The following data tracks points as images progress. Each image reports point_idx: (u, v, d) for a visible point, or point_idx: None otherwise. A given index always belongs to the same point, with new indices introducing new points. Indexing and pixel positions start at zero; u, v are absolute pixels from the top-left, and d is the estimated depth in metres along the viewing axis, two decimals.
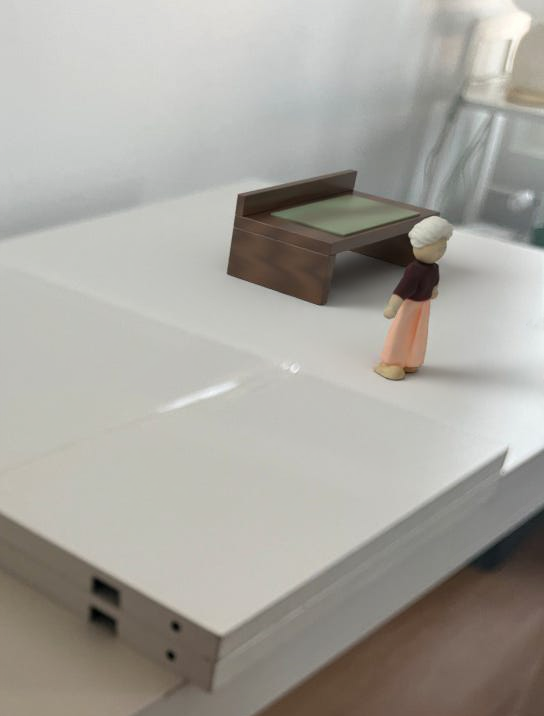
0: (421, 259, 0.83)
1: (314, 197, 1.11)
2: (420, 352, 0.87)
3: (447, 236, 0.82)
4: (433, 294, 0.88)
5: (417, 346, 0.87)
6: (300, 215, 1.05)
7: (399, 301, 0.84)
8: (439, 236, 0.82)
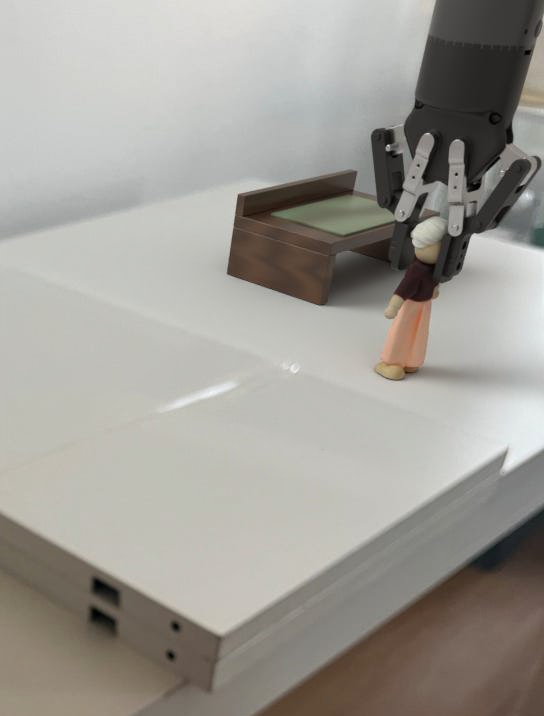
0: (422, 259, 0.83)
1: (314, 197, 1.11)
2: (420, 352, 0.87)
3: None
4: (434, 294, 0.88)
5: (417, 346, 0.87)
6: (300, 215, 1.05)
7: (400, 302, 0.83)
8: (441, 237, 0.81)
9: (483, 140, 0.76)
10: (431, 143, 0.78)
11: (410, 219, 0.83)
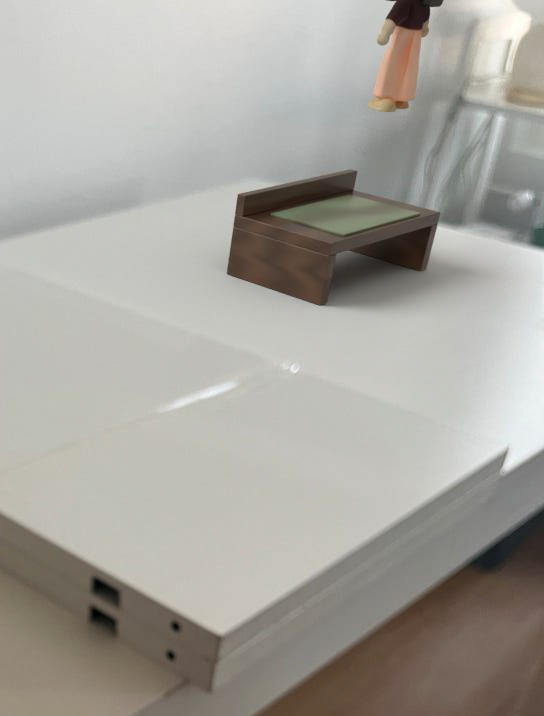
0: None
1: (314, 197, 1.11)
2: (411, 85, 0.91)
3: None
4: (424, 31, 0.92)
5: (408, 78, 0.91)
6: (300, 215, 1.05)
7: (392, 26, 0.88)
8: None
9: None
10: None
11: None
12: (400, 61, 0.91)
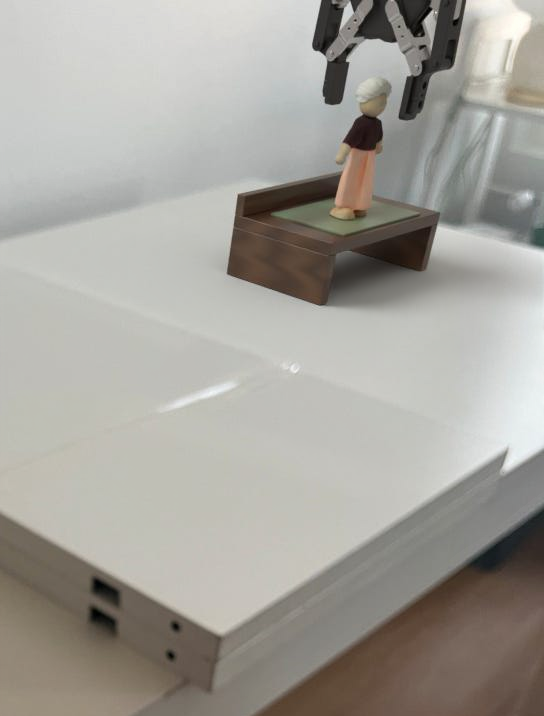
0: (366, 113, 1.00)
1: (314, 197, 1.11)
2: (367, 196, 1.04)
3: (387, 92, 0.99)
4: (378, 149, 1.05)
5: (364, 191, 1.04)
6: (300, 215, 1.05)
7: (347, 149, 1.01)
8: (380, 91, 0.99)
9: (411, 1, 0.93)
10: (369, 7, 0.95)
11: (338, 59, 1.01)
12: (357, 176, 1.03)
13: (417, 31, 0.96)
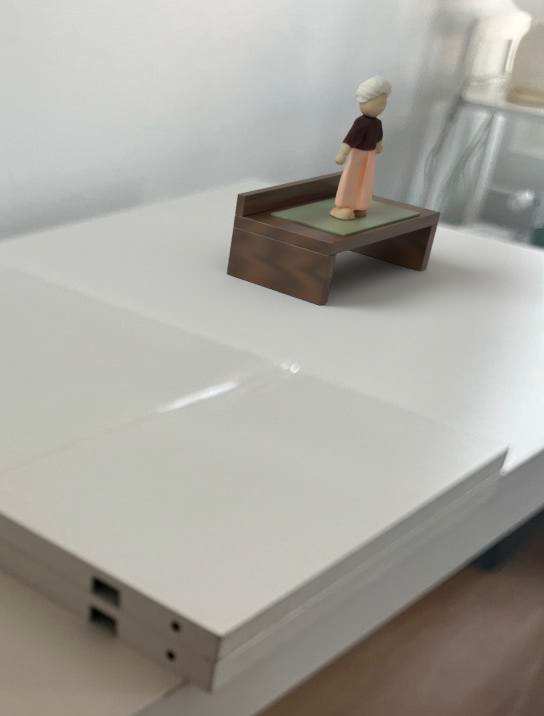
0: (366, 113, 1.00)
1: (314, 197, 1.11)
2: (367, 196, 1.04)
3: (387, 92, 0.99)
4: (378, 149, 1.05)
5: (364, 191, 1.04)
6: (300, 215, 1.05)
7: (347, 149, 1.01)
8: (379, 91, 0.99)
9: None
10: None
11: None
12: (357, 176, 1.03)
13: None
